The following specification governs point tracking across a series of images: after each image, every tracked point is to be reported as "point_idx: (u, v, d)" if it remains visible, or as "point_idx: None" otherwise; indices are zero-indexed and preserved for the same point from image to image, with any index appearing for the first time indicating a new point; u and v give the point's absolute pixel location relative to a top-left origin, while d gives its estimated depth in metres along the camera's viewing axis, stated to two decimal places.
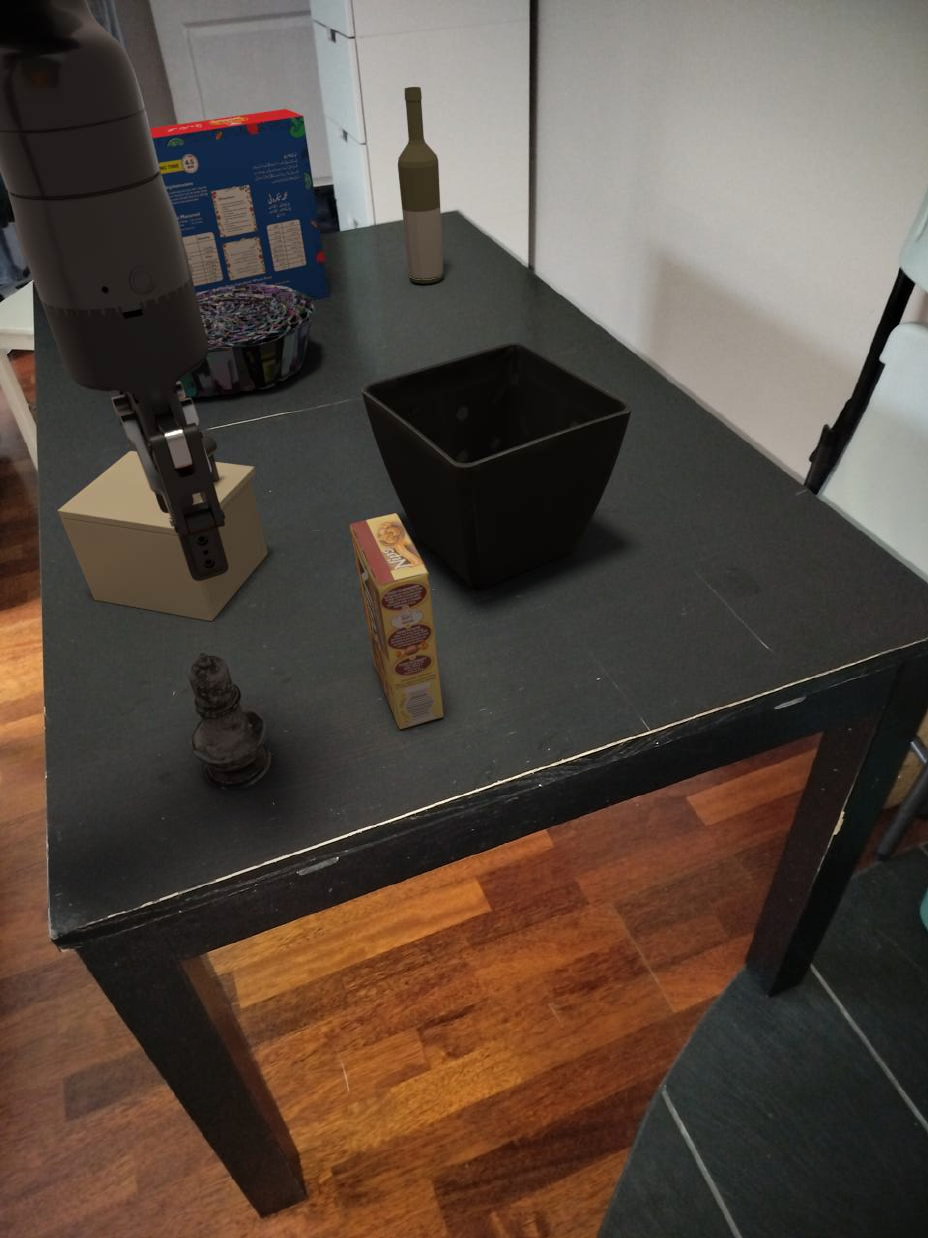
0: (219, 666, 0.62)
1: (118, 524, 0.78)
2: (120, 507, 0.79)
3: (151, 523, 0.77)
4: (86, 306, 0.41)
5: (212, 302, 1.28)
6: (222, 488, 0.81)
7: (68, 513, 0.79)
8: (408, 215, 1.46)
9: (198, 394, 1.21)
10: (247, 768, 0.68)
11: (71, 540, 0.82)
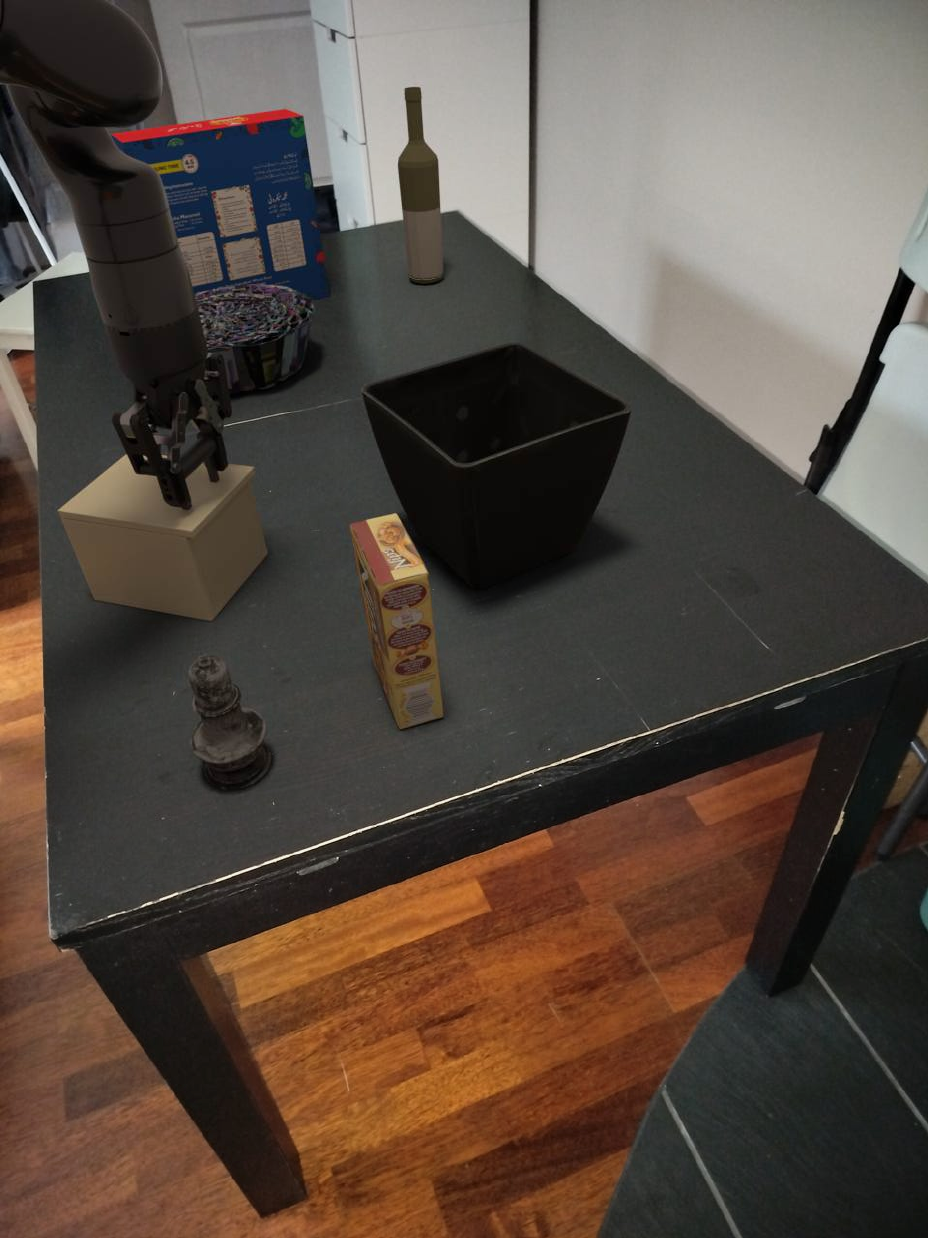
0: (219, 666, 0.62)
1: (118, 524, 0.78)
2: (120, 507, 0.79)
3: (151, 523, 0.77)
4: (105, 322, 0.68)
5: (212, 302, 1.28)
6: (222, 488, 0.81)
7: (68, 513, 0.79)
8: (408, 215, 1.46)
9: None
10: (247, 768, 0.68)
11: (71, 540, 0.82)
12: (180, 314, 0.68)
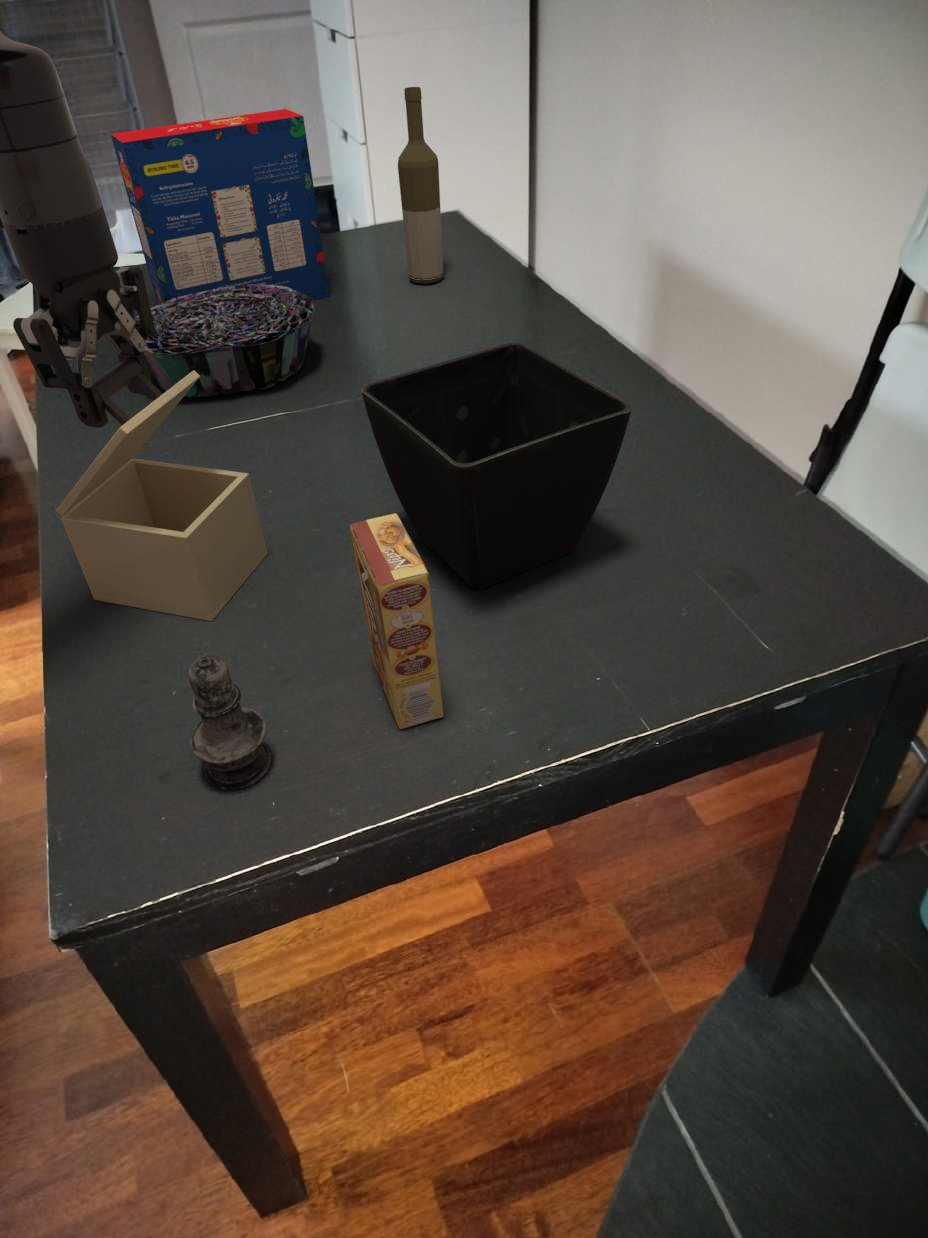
0: (219, 666, 0.62)
1: (87, 479, 0.76)
2: None
3: None
4: (3, 220, 0.65)
5: (212, 302, 1.28)
6: None
7: (61, 505, 0.79)
8: (408, 215, 1.46)
9: (198, 394, 1.21)
10: (247, 768, 0.68)
11: (71, 540, 0.82)
12: (80, 211, 0.65)
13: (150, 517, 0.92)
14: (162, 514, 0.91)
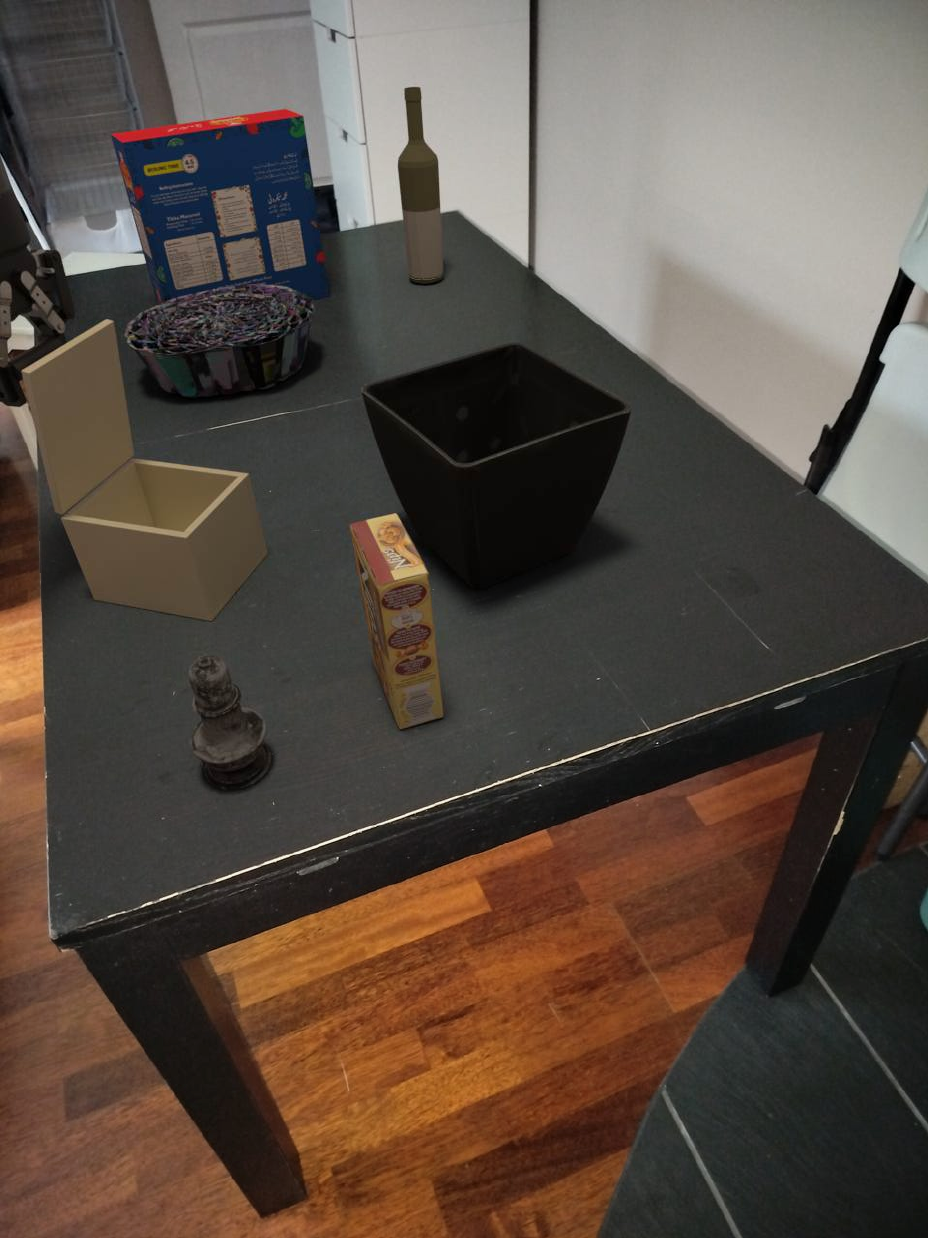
0: (219, 666, 0.62)
1: (45, 454, 0.75)
2: None
3: None
4: None
5: (212, 302, 1.28)
6: None
7: (53, 502, 0.79)
8: (408, 215, 1.46)
9: (198, 394, 1.21)
10: (247, 768, 0.68)
11: (71, 540, 0.82)
12: None
13: (150, 517, 0.92)
14: (162, 514, 0.91)
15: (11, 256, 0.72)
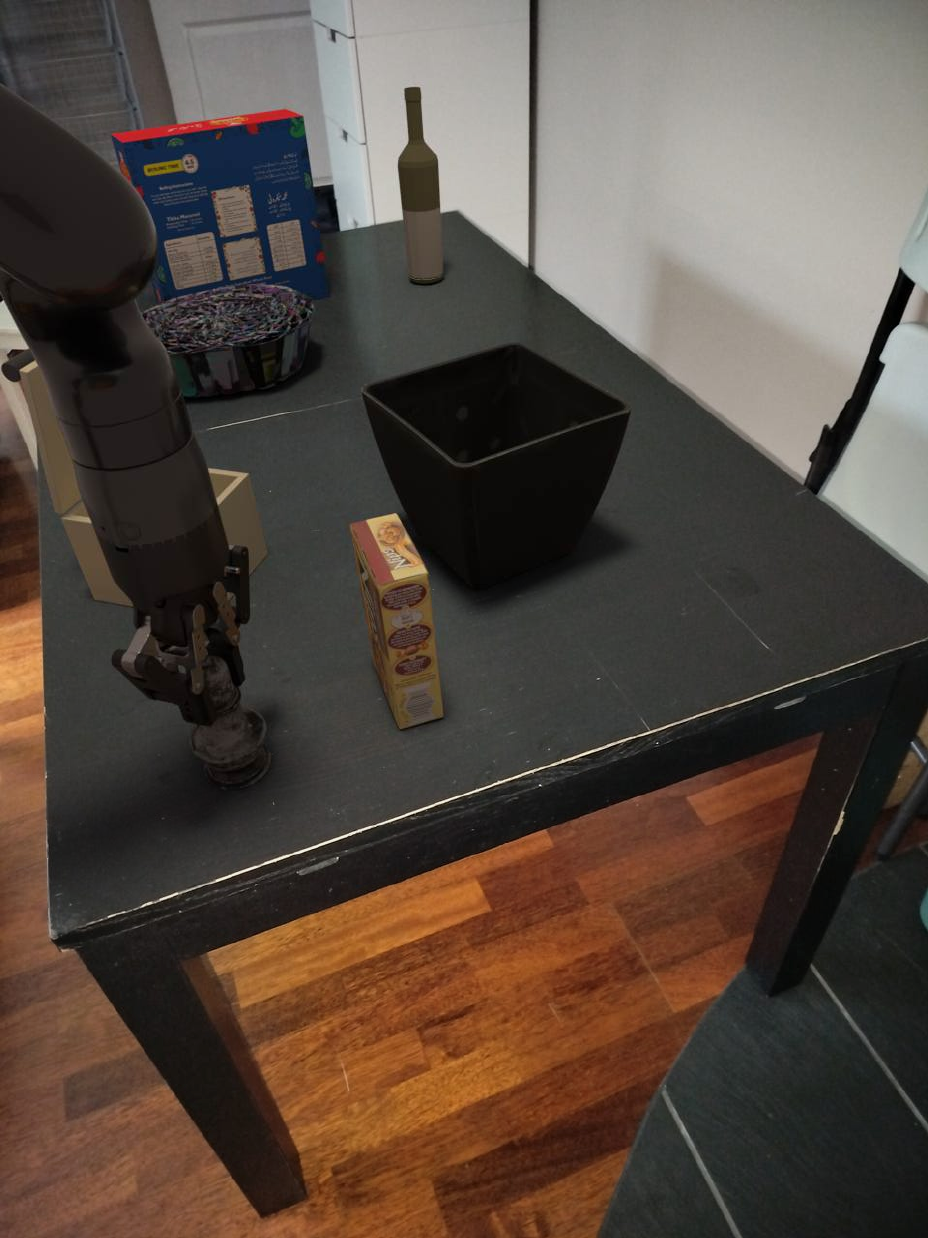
0: (219, 666, 0.62)
1: (44, 453, 0.75)
2: None
3: None
4: (96, 532, 0.51)
5: (212, 302, 1.28)
6: None
7: (53, 502, 0.79)
8: (408, 215, 1.46)
9: (198, 394, 1.21)
10: (247, 768, 0.68)
11: (71, 540, 0.82)
12: (195, 522, 0.52)
13: None
14: None
15: None
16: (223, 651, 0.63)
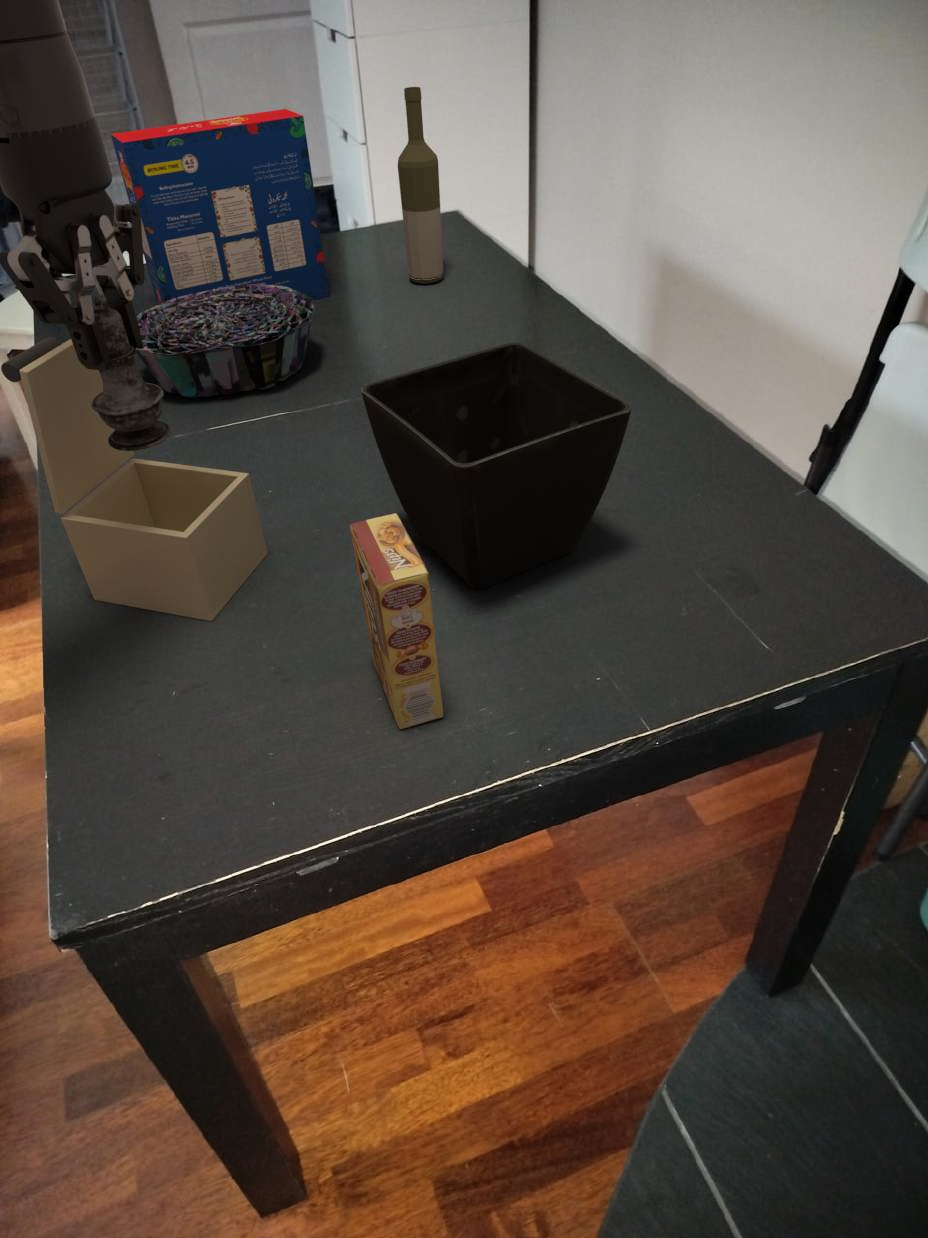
0: (112, 312, 0.67)
1: (44, 453, 0.75)
2: None
3: None
4: None
5: (212, 302, 1.28)
6: None
7: (53, 502, 0.79)
8: (408, 215, 1.46)
9: (198, 394, 1.21)
10: (147, 435, 0.73)
11: (71, 540, 0.82)
12: (70, 119, 0.57)
13: (150, 517, 0.92)
14: (162, 514, 0.91)
15: (89, 197, 0.63)
16: (118, 305, 0.69)
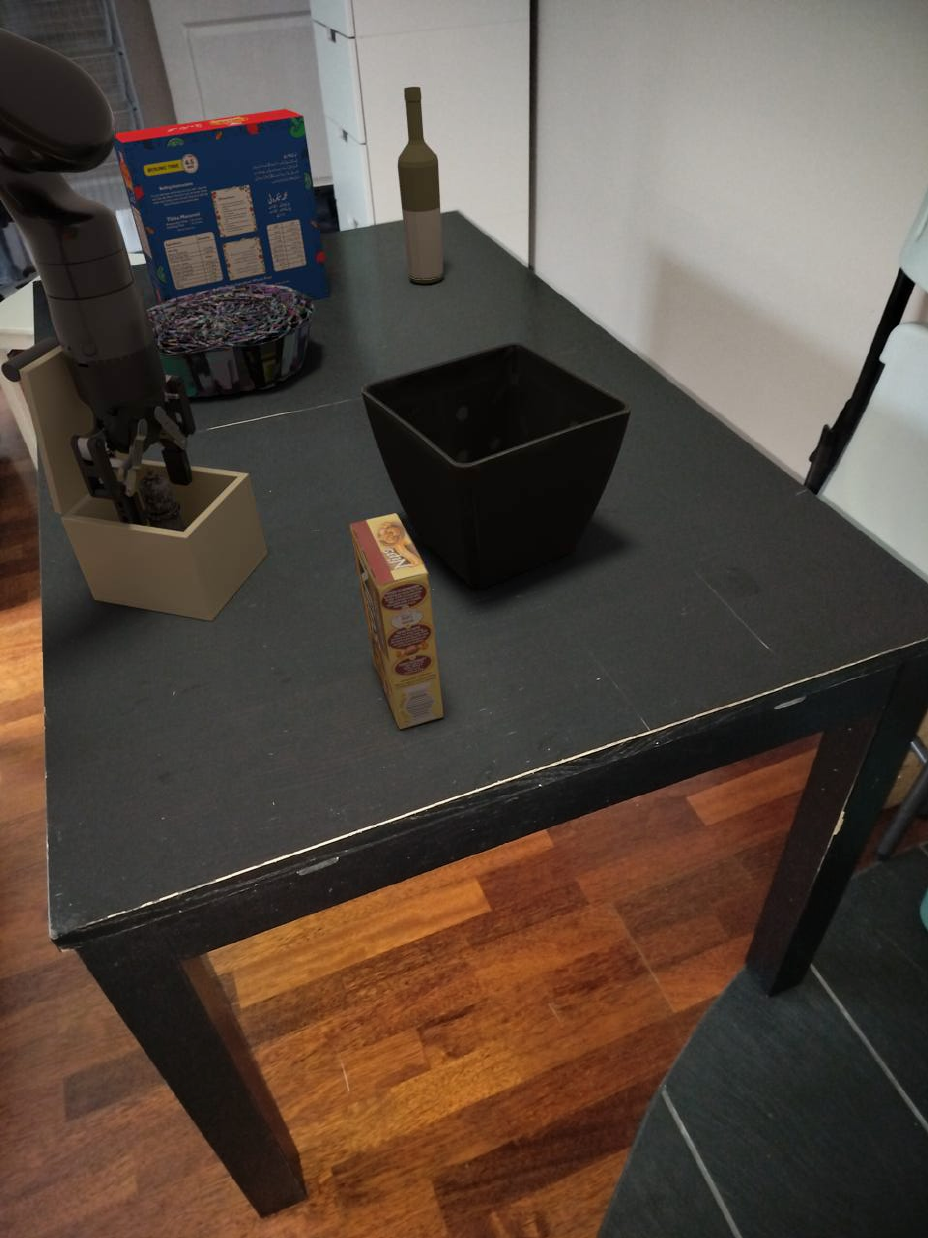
0: (162, 479, 0.81)
1: (44, 453, 0.75)
2: None
3: None
4: (65, 353, 0.71)
5: (212, 302, 1.28)
6: None
7: (53, 502, 0.79)
8: (408, 215, 1.46)
9: (198, 394, 1.21)
10: None
11: (71, 540, 0.82)
12: (136, 346, 0.71)
13: None
14: None
15: None
16: (174, 453, 0.83)
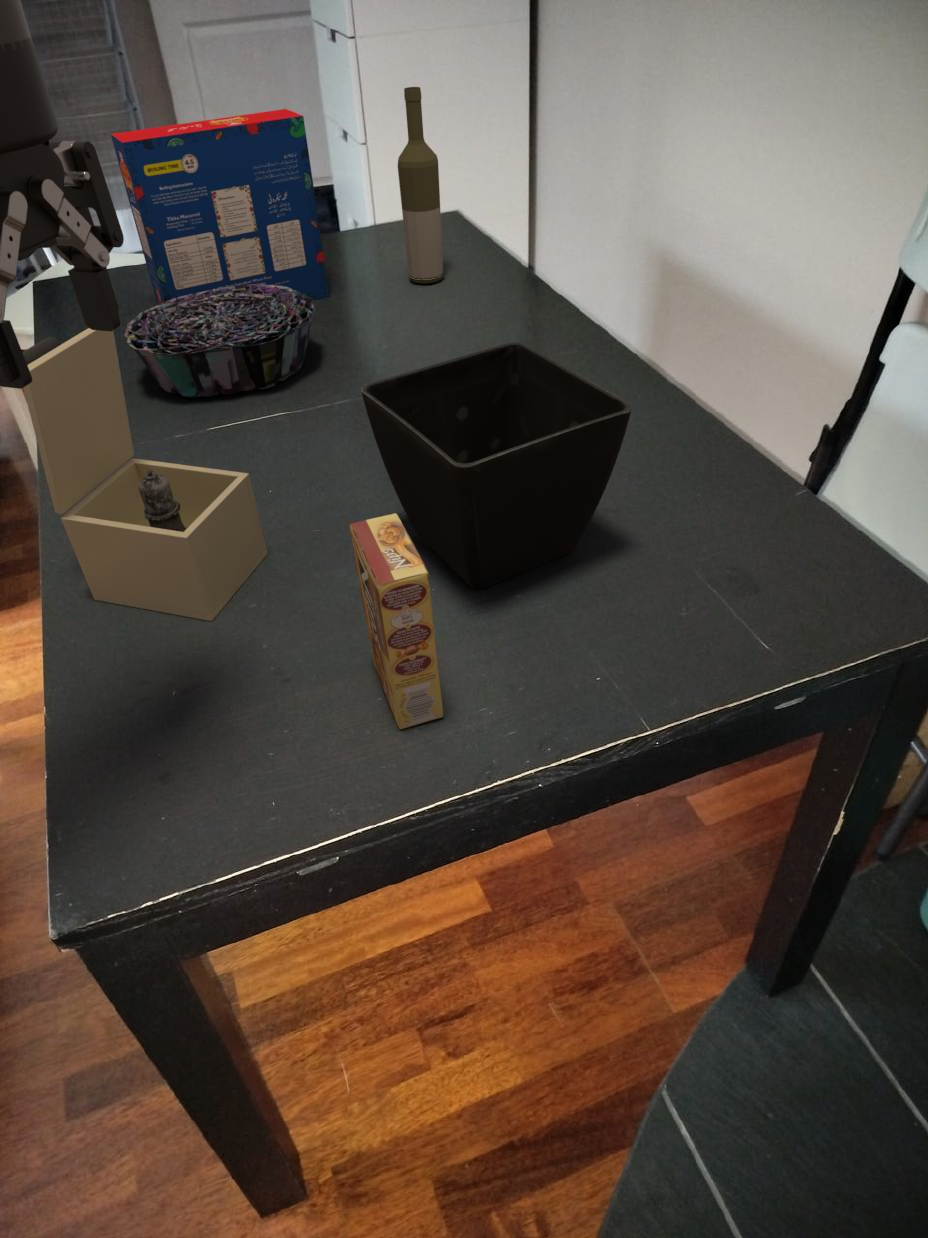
0: (161, 479, 0.81)
1: (44, 453, 0.75)
2: None
3: None
4: None
5: (212, 302, 1.28)
6: None
7: (53, 502, 0.79)
8: (408, 215, 1.46)
9: (198, 394, 1.21)
10: None
11: (71, 540, 0.82)
12: None
13: None
14: None
15: (27, 155, 0.46)
16: (88, 273, 0.53)
